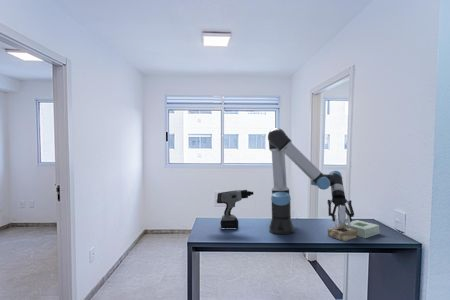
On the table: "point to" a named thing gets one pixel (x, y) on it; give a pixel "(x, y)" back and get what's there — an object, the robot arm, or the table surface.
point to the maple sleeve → (342, 234)
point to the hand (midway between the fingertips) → (343, 226)
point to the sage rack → (364, 228)
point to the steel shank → (341, 218)
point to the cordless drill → (231, 206)
